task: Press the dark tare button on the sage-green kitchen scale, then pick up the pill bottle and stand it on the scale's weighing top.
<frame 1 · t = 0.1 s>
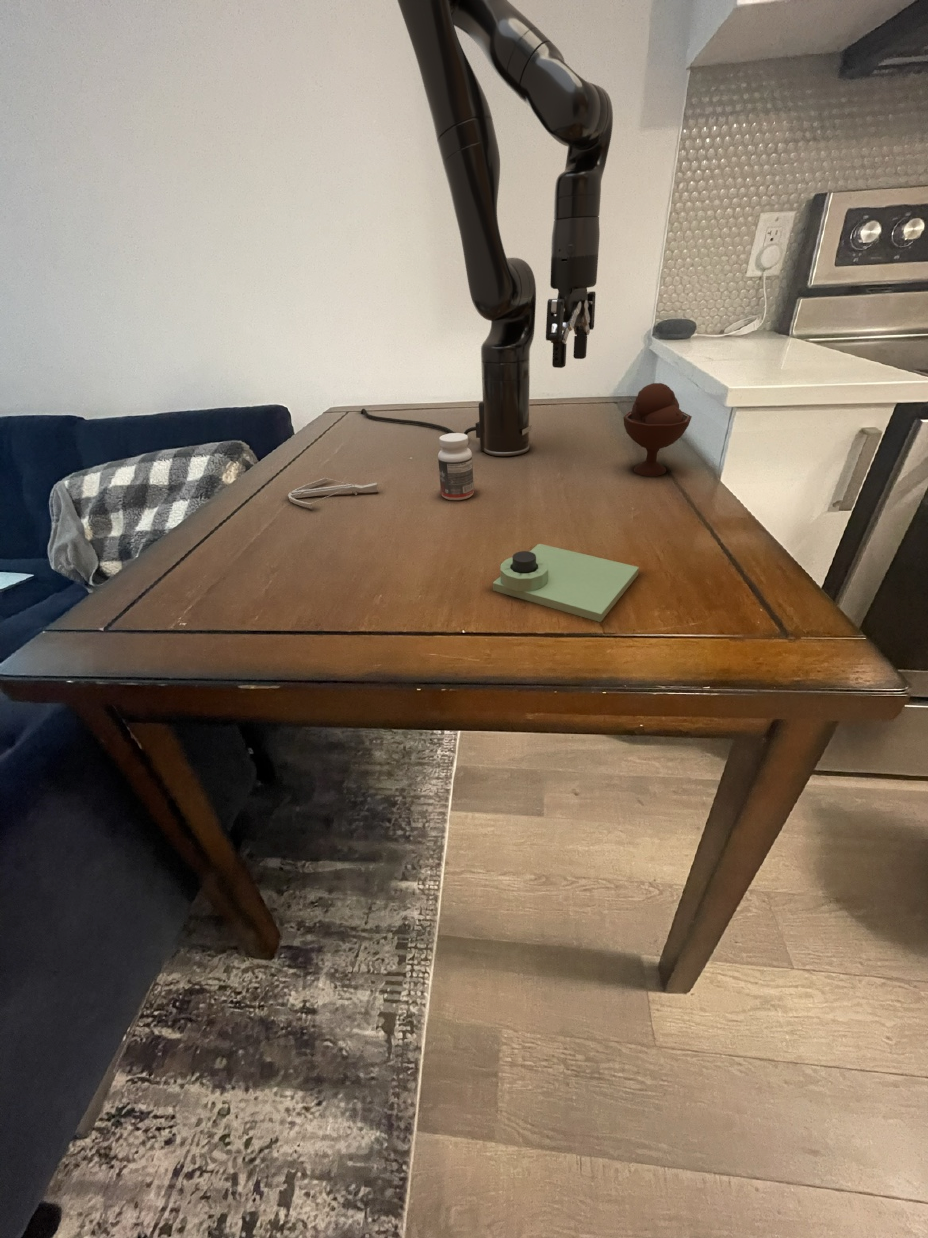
hand: (569, 362, 97), 17 cm above the table, tool pointing down, fingers open, 8 cm apart
pill bottle: (457, 496, 94), on the table
crossbow: (334, 496, 97), on the table
ice cream bowl: (649, 471, 98), on the table
tare button: (524, 562, 65), point 3 cm above the table, slide at 0.1 cm
scale: (566, 583, 67), on the table
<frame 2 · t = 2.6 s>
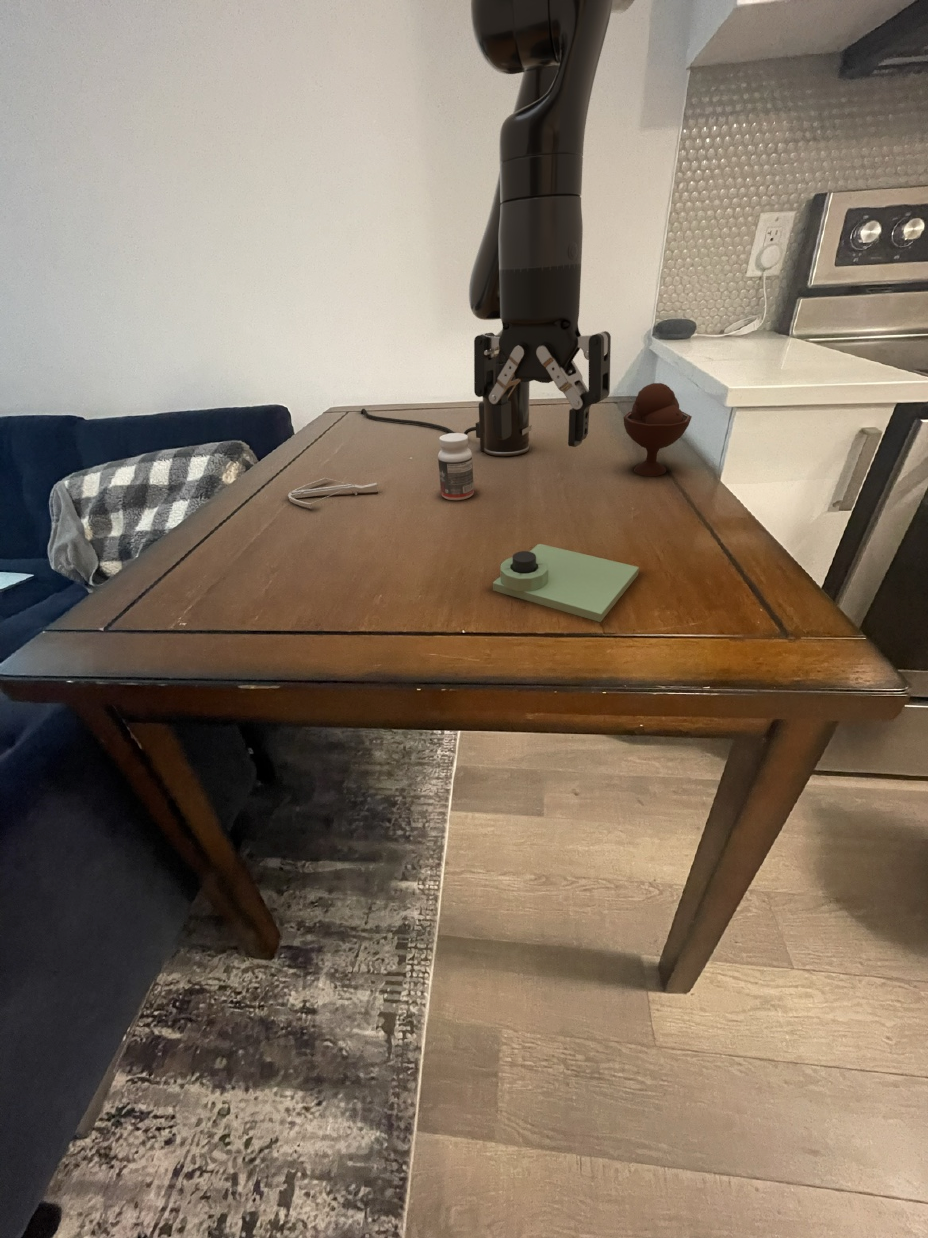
hand: (538, 441, 59), 17 cm above the table, tool pointing down, fingers open, 8 cm apart
nothing on the table moved.
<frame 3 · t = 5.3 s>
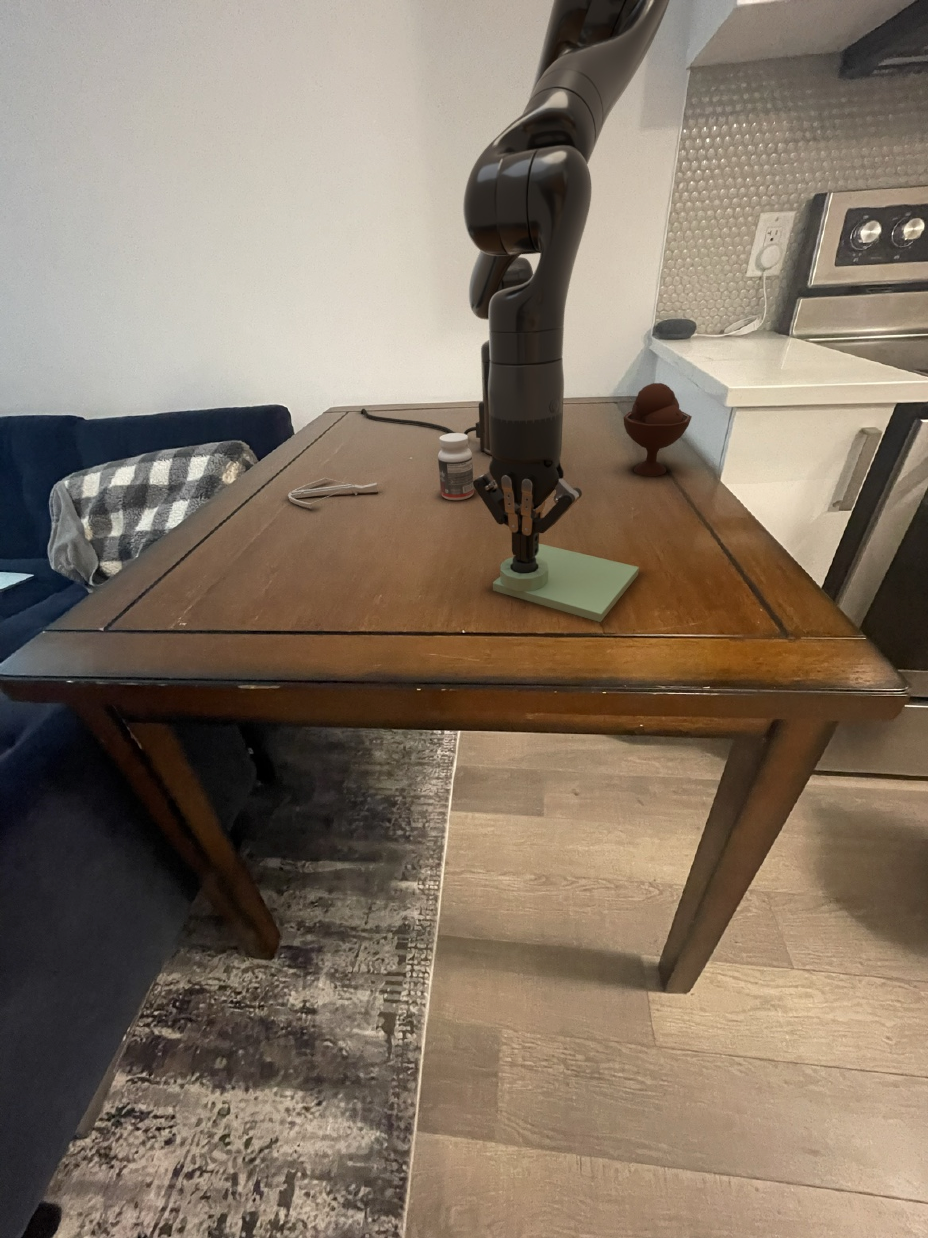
hand: (524, 558, 65), 4 cm above the table, tool pointing down, fingers closed
tare button: (524, 565, 65), point 3 cm above the table, slide at -0.2 cm, touching gripper
everything else where it was.
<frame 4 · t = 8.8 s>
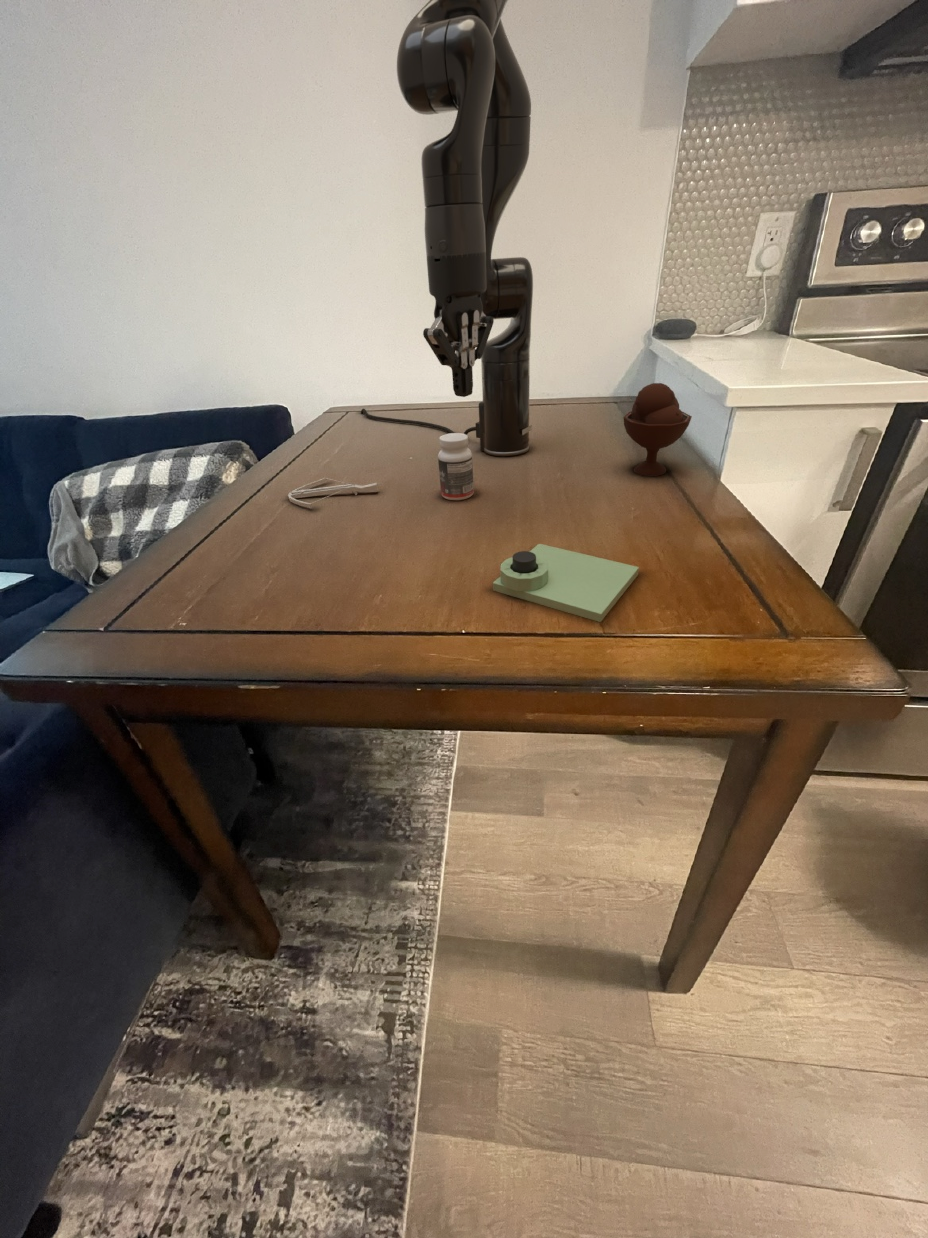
hand: (463, 395, 78), 18 cm above the table, tool pointing down, fingers closed
tare button: (524, 562, 65), point 3 cm above the table, slide at 0.1 cm
everything else where it was.
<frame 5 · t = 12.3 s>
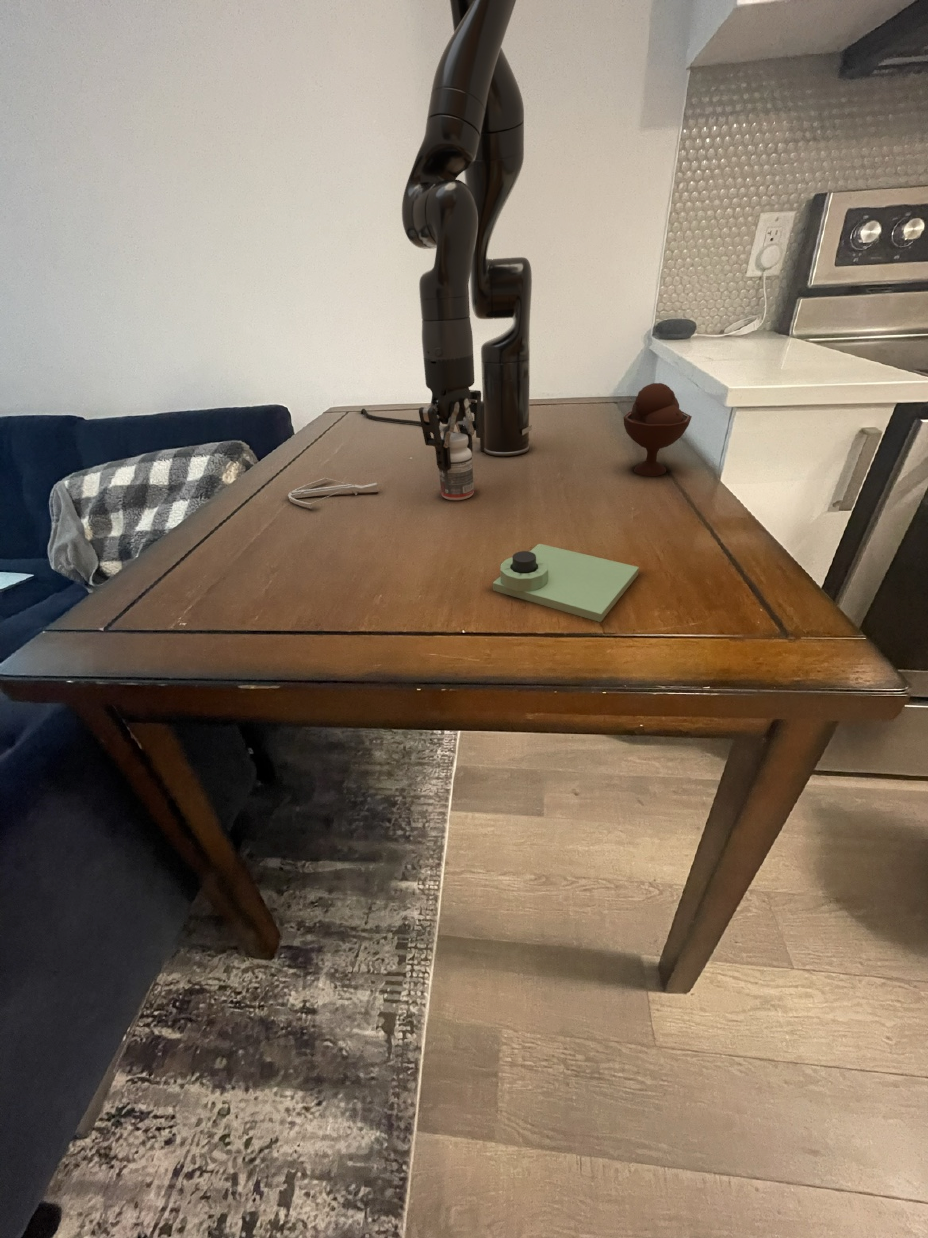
hand: (455, 463, 90), 6 cm above the table, tool pointing down, fingers closed on pill bottle, 5 cm apart
pill bottle: (457, 496, 94), on the table, touching gripper
everything else where it was.
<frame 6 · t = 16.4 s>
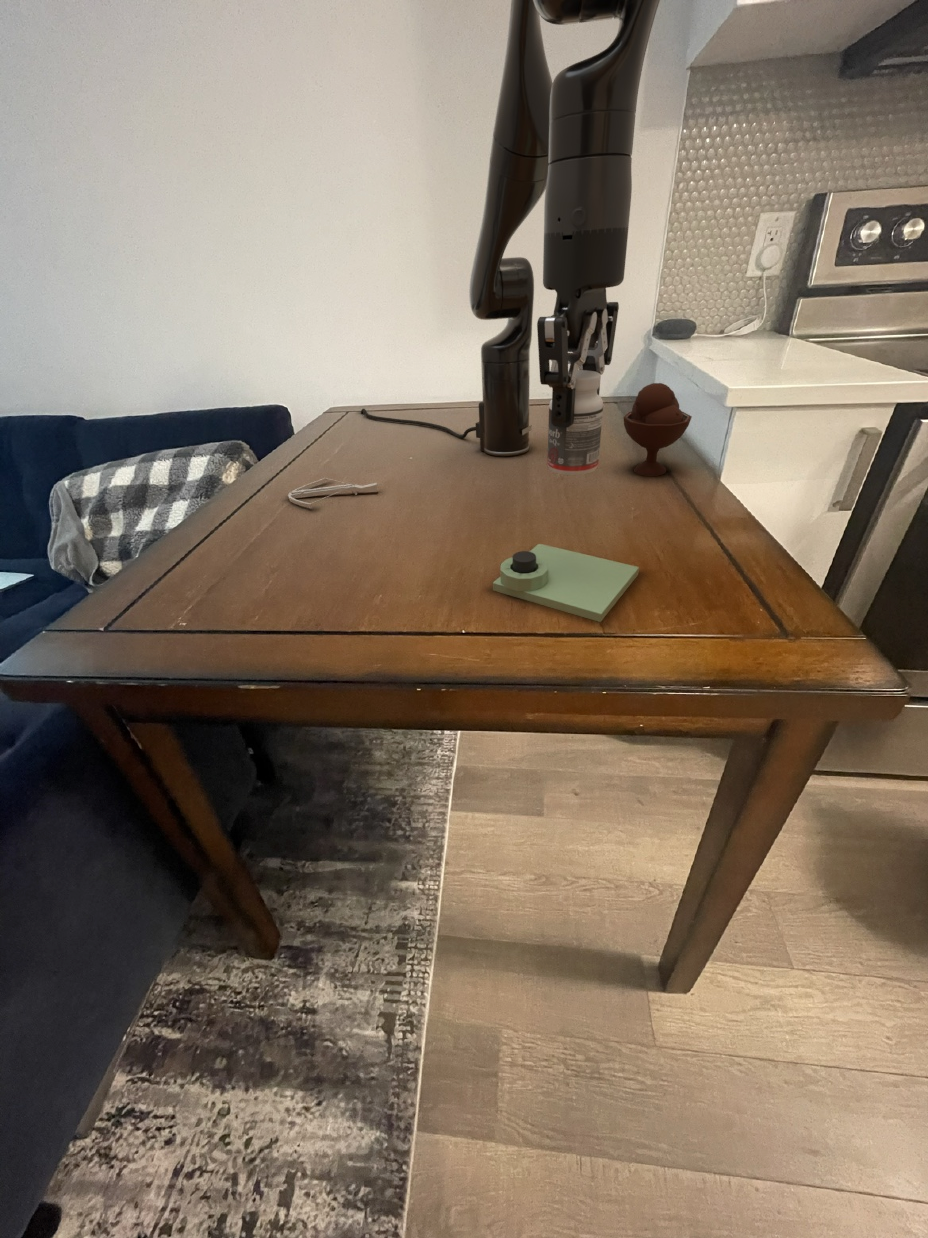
hand: (575, 417, 58), 19 cm above the table, tool pointing down, fingers closed on pill bottle, 5 cm apart
pill bottle: (572, 469, 62), point 14 cm above the table, touching gripper
everything else where it was.
when the fingers open (7 cm above the table, at t = 20.6 s): pill bottle stays where it is, resting on scale.
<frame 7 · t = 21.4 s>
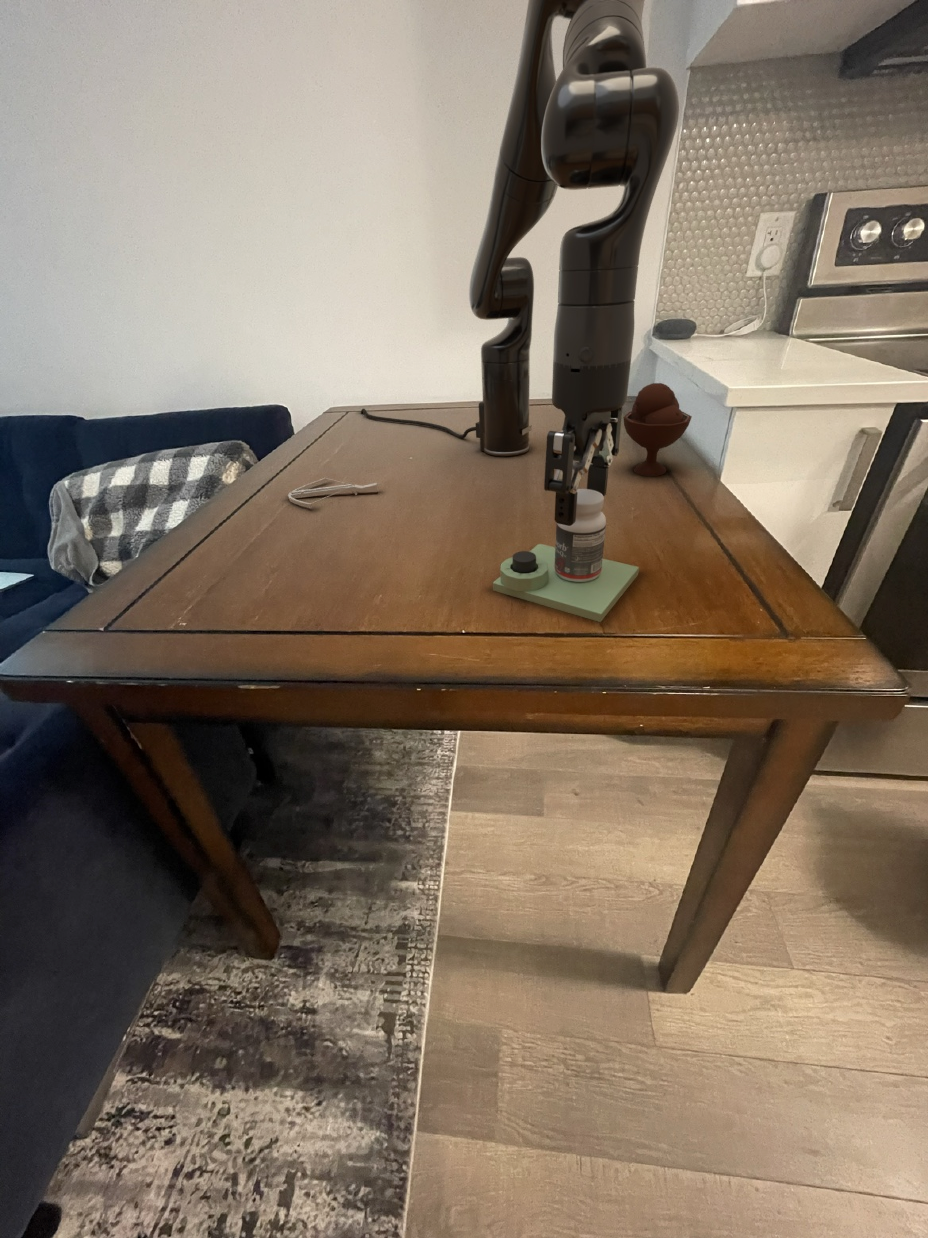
hand: (581, 509, 62), 9 cm above the table, tool pointing down, fingers open, 8 cm apart
pill bottle: (577, 573, 67), point 1 cm above the table, touching scale
everything else where it was.
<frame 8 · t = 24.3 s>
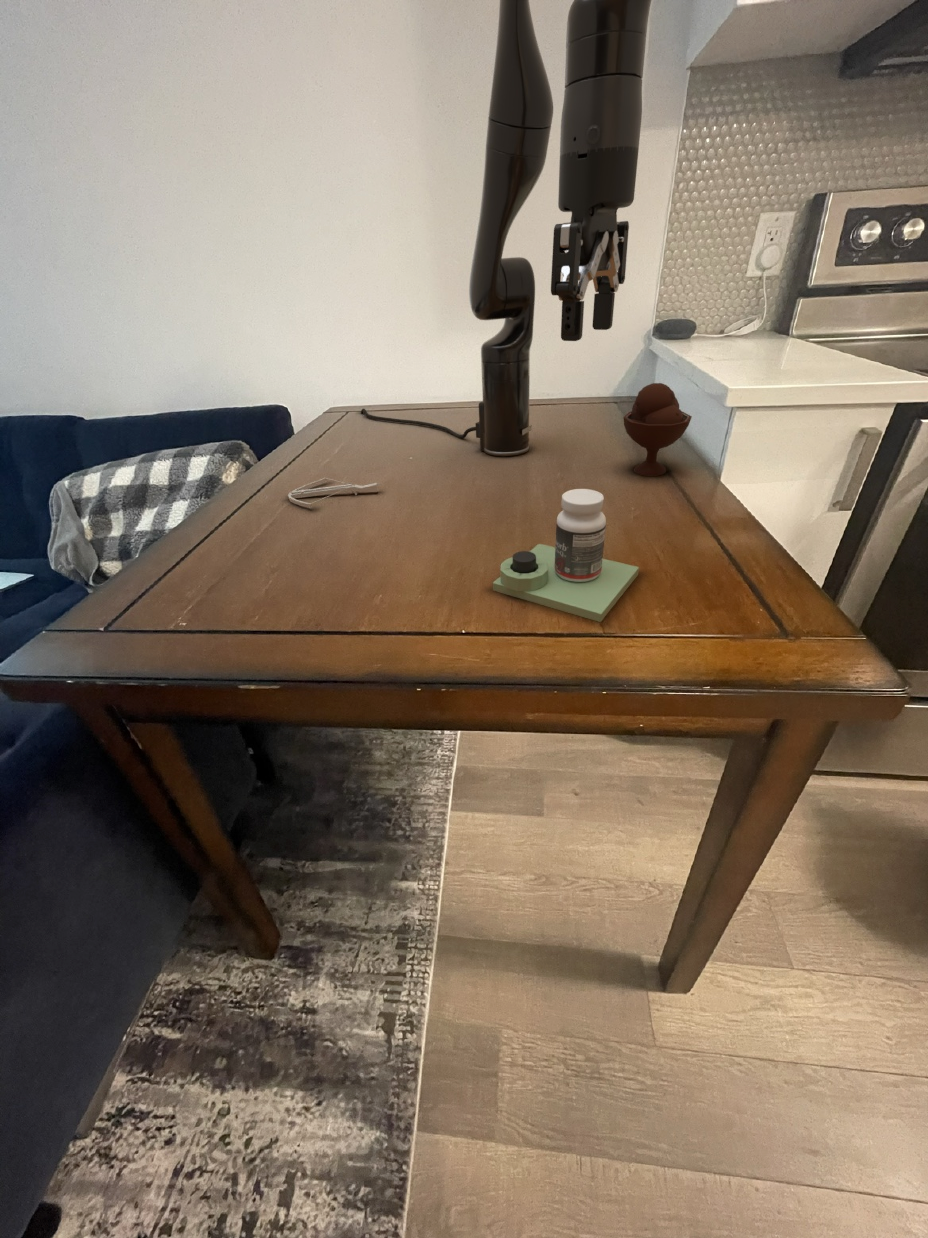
hand: (587, 334, 62), 26 cm above the table, tool pointing down, fingers open, 8 cm apart
nothing on the table moved.
at the end: tare button pushed in 1.1 cm at the most during the clip, back to where it started at the end; pill bottle inside the target area on the scale (0.4 cm from its centre), point 1.0 cm above the scale's base; pill bottle touching scale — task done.
